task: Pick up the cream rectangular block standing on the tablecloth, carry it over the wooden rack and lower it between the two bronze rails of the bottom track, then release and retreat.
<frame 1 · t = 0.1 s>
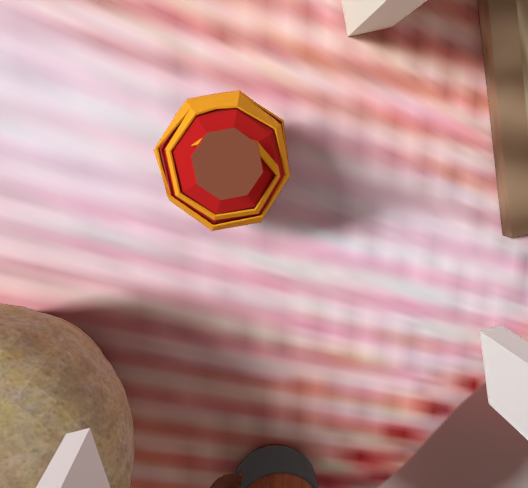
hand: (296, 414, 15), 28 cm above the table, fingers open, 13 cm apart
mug: (258, 471, 47), on the table
potion bottle: (224, 160, 40), on the table
vase: (38, 376, 43), on the table
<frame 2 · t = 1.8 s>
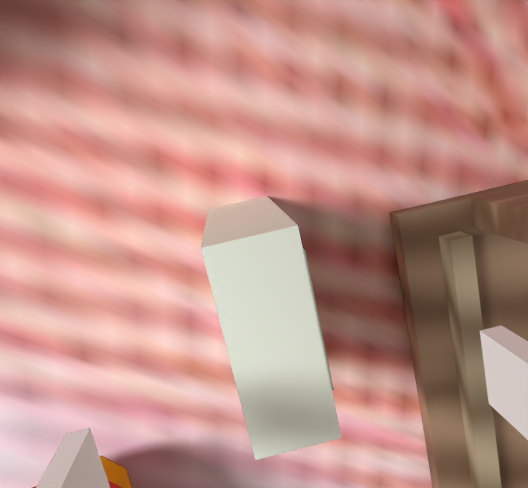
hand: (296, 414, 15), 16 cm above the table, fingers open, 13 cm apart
wooden rack: (505, 369, 34), on the table
potion bottle: (94, 485, 33), on the table
cream rectangular block: (254, 273, 31), on the table
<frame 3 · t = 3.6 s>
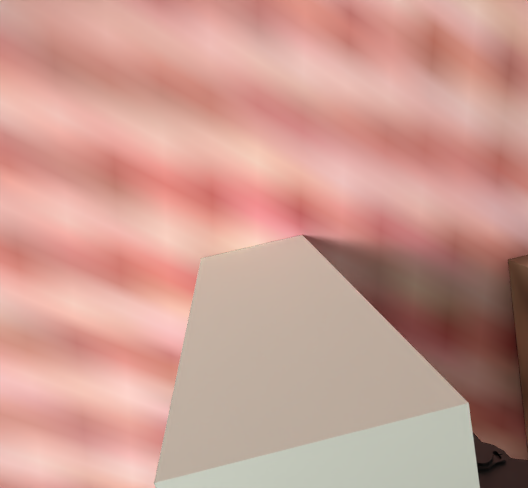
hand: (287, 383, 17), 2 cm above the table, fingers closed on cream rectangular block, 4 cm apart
cream rectangular block: (278, 363, 18), on the table, touching gripper
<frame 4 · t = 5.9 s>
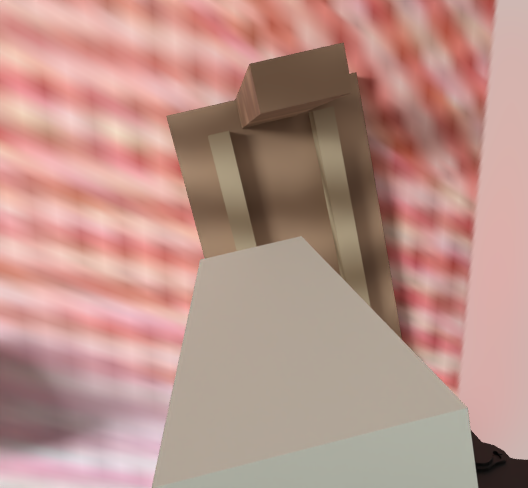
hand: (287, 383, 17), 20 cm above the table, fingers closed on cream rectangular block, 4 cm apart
wooden rack: (298, 271, 37), on the table
cream rectangular block: (277, 364, 18), point 18 cm above the table, touching gripper
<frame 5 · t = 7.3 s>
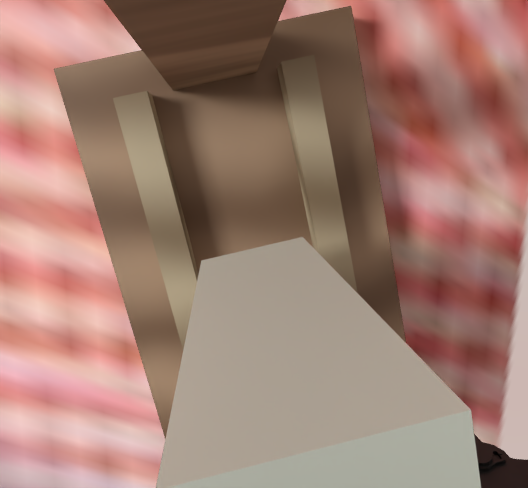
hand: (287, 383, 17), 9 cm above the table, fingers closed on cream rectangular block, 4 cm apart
wooden rack: (266, 307, 25), on the table
cream rectangular block: (278, 365, 18), point 7 cm above the table, touching gripper
when the fingers open (5 cm above the table, at t = 8.3 s): cream rectangular block drops 1 cm, resting on wooden rack.
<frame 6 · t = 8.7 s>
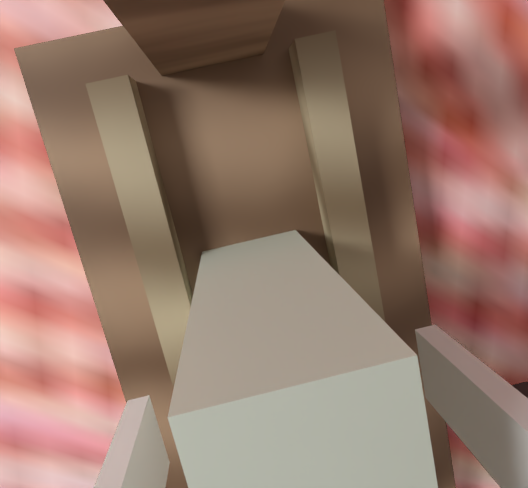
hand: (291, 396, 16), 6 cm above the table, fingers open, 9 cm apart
wooden rack: (273, 334, 21), on the table
cream rectangular block: (274, 349, 20), point 1 cm above the table, touching wooden rack
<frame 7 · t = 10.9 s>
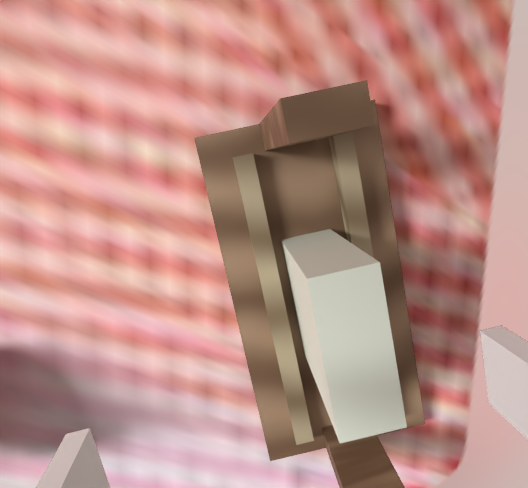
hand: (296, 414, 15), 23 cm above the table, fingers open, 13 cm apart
wooden rack: (315, 287, 38), on the table
cream rectangular block: (317, 293, 36), point 1 cm above the table, touching wooden rack
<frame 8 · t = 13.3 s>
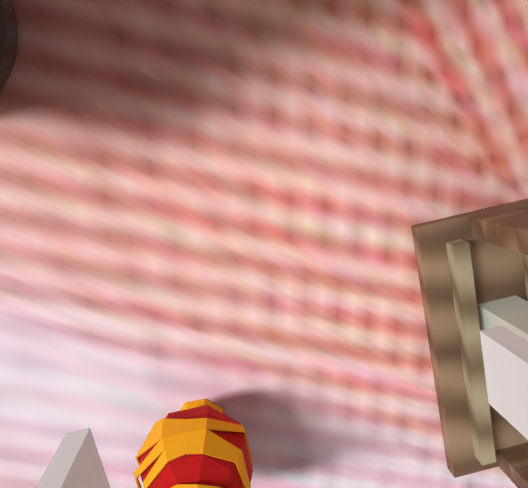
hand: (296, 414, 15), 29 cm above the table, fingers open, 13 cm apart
wooden rack: (494, 338, 47), on the table
potion bottle: (199, 420, 46), on the table
cream rectangular block: (501, 345, 46), point 1 cm above the table, touching wooden rack
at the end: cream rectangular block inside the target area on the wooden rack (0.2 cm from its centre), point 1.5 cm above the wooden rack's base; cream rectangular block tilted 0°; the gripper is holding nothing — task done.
